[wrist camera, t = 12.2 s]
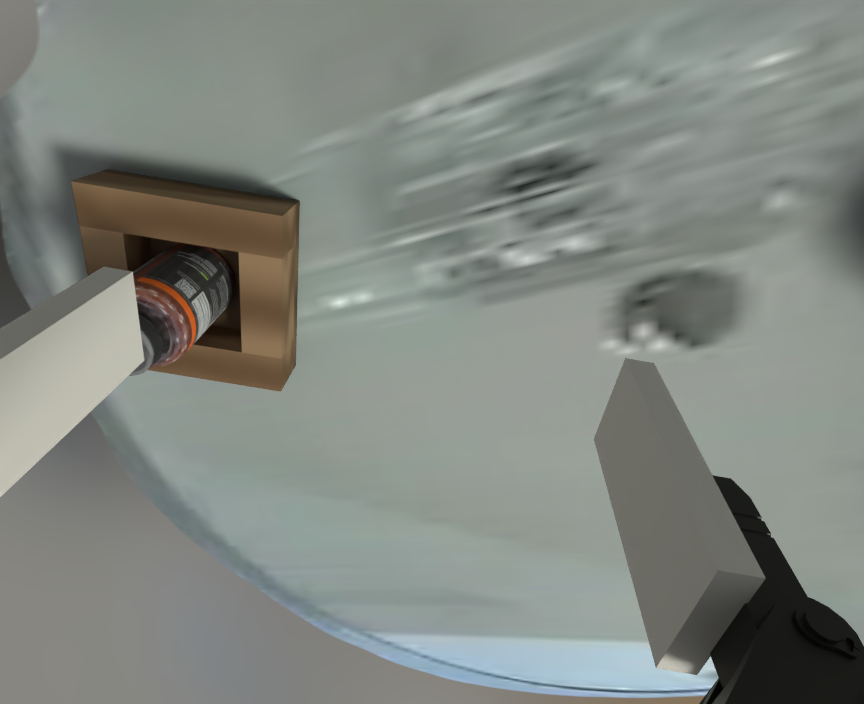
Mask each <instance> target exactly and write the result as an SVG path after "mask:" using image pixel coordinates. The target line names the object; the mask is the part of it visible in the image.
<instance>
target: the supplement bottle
mask: <svg viewBox="0 0 864 704" xmlns="http://www.w3.org/2000/svg"><path fill="white" fill-rule="evenodd" d="M133 278H134V286H135V293H136V301H137V308H138V316H139V323H140V331H141V338H142V346H143V353H144V361H143V362H142V363H141V364H140V365H139V366H138V367H137V368H136V369H135V370H134V371H133V372H132V373H131V374H130V375H128V376H132V375H139V374H141V373H143V372H145V371H147V370H148V369H149V368H150V367H159V366H164V365H167V364H170V363H173V362H175V361H176V360H178V359H179V358H180V357H181V356H183V355H184V354H185V353H186V352H187V351H188V349H189V348H190V347H191V346H192V345H193V344H194V343H195V342H196V341H197V340H198V339H199V337H200V336H201V335H202V334H203V333H204V332H205V331H206V330H207V329H208V327H209V326H210V325H211V324H212V323H213V322H214V321H215V320H216V318H217V317H218V316H219V315H220V314H221V313H222V312H223V311H224V310H225V308H226V307H227V306H228V305H229V303H230V302H231V300H232V299H233V296H234V293H235V277H234V274H233V272H232V269H231V267H230V266H229V264H228V263H227V261H226V260H225V259H224V258H223V257H222V256H221V255H220V254H219V253H218V252H216V251H215V250H213V249H212V248H210V247H205V246H199V245H193V244H187V243H177V244H174V245H172V246H171V247H169V248H167V249H165V250H164V251H162V252H161V253H160V254H158V255H157V256H155V257H154V258H152V259H151V260H150V261H148V262H147V263H145V264H144V265H142V266H141V267H139V268H138V269H137V270H135V271H134V272H133Z"/></svg>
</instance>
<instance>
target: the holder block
mask: <svg viewBox="0 0 864 704" xmlns="http://www.w3.org/2000/svg"><path fill="white" fill-rule="evenodd" d="M71 184H72V189H73V195H74V200H75V206H76V211H77V217H78V223H79V228H80V234H81V239H82V245H83V251H84V256H85V262H86V267H87V273H88V276H89V275H91V274H92V273H94V272H96V271H97V270H99V269H101V268H102V267H109V268H115V269H121V270H126V271H132V272H134V271H135V270H137V269H138V268H139V267H141V266H142V265H144V264H145V263H147V262H148V261H150V260H151V259H152V258H154V257H155V256H157V255H158V254H160V253H161V252H162V251H164V250H165V249H167V248H169V247H171V246H172V245H174V244H177V243H187V244H193V245H199V246H205V247H210V248H212V249H213V250H215V251H216V252H218V253H219V254H220V255H221V256H222V257H223V258H224V259H225V260H226V261H227V263H228V264H229V266H230V267H231V269H232V272H233V274H234V277H235V293H234V296H233V299H232V300H231V302H230V303H229V305H228V306H227V307H226V308H225V310H224V311H223V312H222V313H221V314H220V315H219V316H218V317H217V318H216V320H215V321H214V322H213V323H212V324H211V325H210V326H209V327H208V329H207V330H206V331H205V332H204V333H203V334H202V335H201V336H200V337H199V339H198V340H197V341H196V342H195V343H194V344H193V345H192V346H191V347H190V348H189V349H188V351H187V352H186V353H185V354H184V355H183V356H181V357H180V358H179V359H178V360H176V361H175V362H173V363H170V364H167V365H164V366H159V367H150V368H149V369H148V370H152V371H158V372H164V373H170V374H176V375H182V376H189V377H195V378H201V379H207V380H213V381H220V382H226V383H232V384H238V385H244V386H250V387H257V388H263V389H269V390H275V391H281V390H282V388H283V387H284V385H285V383H286V381H287V380H288V378H289V376H290V374H291V373H292V371H293V369H294V367H295V366H296V330H297V289H298V247H299V206H300V201H296V200H290V199H284V198H278V197H272V196H266V195H260V194H254V193H248V192H242V191H236V190H230V189H223V188H217V187H211V186H205V185H199V184H193V183H187V182H181V181H175V180H169V179H163V178H157V177H150V176H144V175H138V174H132V173H126V172H120V171H114V170H108V169H107V170H104V171H101V172H98V173H95V174H92V175H89V176H86V177H83V178H80V179H77V180H74V181H71Z"/></svg>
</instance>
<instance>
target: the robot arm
mask: <svg viewBox="0 0 864 704" xmlns="http://www.w3.org/2000/svg"><path fill="white" fill-rule="evenodd" d="M143 361H144V353H143V346H142V338H141V331H140V323H139V316H138V308H137V301H136V293H135V286H134V278H133V272H132V271H126V270H121V269H115V268H109V267H102V268H101V269H99V270H97V271H96V272H94V273H92V274H91V275H89V276H87V277H86V278H84V279H82V280H81V281H79V282H77V283H76V284H74V285H72V286H71V287H69V288H67V289H66V290H64V291H62V292H61V293H59V294H57V295H56V296H54V297H52V298H51V299H49V300H47V301H46V302H44V303H42V304H41V305H39V306H37V307H36V308H34V309H32V310H31V311H29V312H27V313H26V314H24V315H22V316H21V317H19V318H17V319H16V320H14V321H12V322H11V323H9V324H7V325H6V326H4V327H2V328H1V329H0V497H1V496H2V495H3V494H4V493H5V492H6V491H7V490H8V489H9V488H10V487H11V486H13V484H15V483H16V482H17V481H18V480H19V479H20V478H21V477H22V476H23V475H24V474H25V473H26V472H27V471H28V470H29V469H30V468H31V467H33V466H34V464H36V463H37V462H38V461H39V460H40V459H41V458H42V457H43V456H44V455H45V454H46V453H47V452H48V451H49V450H50V449H52V448H53V447H54V446H55V445H56V444H57V443H58V442H59V441H60V440H61V439H62V438H63V437H64V436H65V435H66V434H67V433H68V432H69V431H70V430H71V429H73V427H75V426H76V425H77V424H78V423H79V422H80V421H81V420H82V419H83V418H84V417H85V416H86V415H87V414H88V413H89V412H91V411H92V410H93V409H94V408H95V407H96V406H97V405H98V404H99V403H100V402H101V401H102V400H103V399H104V398H105V397H106V396H107V395H108V394H110V393H111V392H112V391H113V390H114V389H115V388H116V387H117V386H118V385H119V384H120V383H121V382H122V381H123V380H124V379H125V378H126V377H127V376H128V375H130V374H131V373H132V372H133V371H134V370H135V369H136V368H137V367H138V366H139V365H140V364H141V363H142V362H143ZM594 441H595V445H596V449H597V452H598V456H599V460H600V463H601V467H602V471H603V474H604V478H605V482H606V485H607V489H608V493H609V496H610V500H611V504H612V507H613V511H614V515H615V519H616V522H617V526H618V530H619V533H620V537H621V541H622V544H623V548H624V552H625V555H626V559H627V563H628V566H629V570H630V574H631V577H632V581H633V585H634V588H635V592H636V596H637V599H638V603H639V607H640V610H641V614H642V618H643V621H644V625H645V629H646V633H647V636H648V640H649V644H650V647H651V651H652V655H653V658H654V662H655V666H656V668H660V669H666V670H671V671H677V672H683V673H689V674H694V675H697V674H698V673H699V672H700V670H701V669H702V667H703V666H704V665H705V663H706V662H707V660H708V659H709V657H710V656H711V658H712V660H713V663H714V666H715V669H716V671H717V674H718V677H719V678H718V680H717V681H716V682H715V684H714V685H713V686H712V688H711V689H710V690H709V692H708V693H707V694H706V696H705V697H704V699H703V700H702V701H701V703H700V704H864V646H863V644H862V642H861V640H860V639H859V637H858V635H857V633H856V632H855V631H854V630H853V629H852V628H851V627H850V625H849V624H848V623H847V622H846V621H845V620H844V619H843V618H842V617H840V616H839V615H838V614H837V613H835V612H834V611H833V610H831V609H830V608H829V607H827V606H825V605H823V604H821V603H820V602H818V601H816V600H814V599H812V598H809V597H807V595H806V593H805V592H804V590H803V588H802V587H801V585H800V583H799V581H798V580H797V578H796V576H795V574H794V573H793V571H792V569H791V567H790V566H789V564H788V562H787V561H786V559H785V557H784V555H783V554H782V552H781V550H780V548H779V547H778V545H777V543H776V541H775V540H774V538H771V533H770V531H769V529H768V528H767V526H766V524H765V522H764V521H761V518H762V517H761V515H760V514H759V512H758V510H757V509H756V507H755V505H754V503H753V502H752V500H751V498H750V497H749V496H748V495H747V494H746V493H745V492H744V491H743V490H742V489H741V488H740V487H739V486H738V485H737V484H736V483H735V482H734V481H733V480H732V479H730V478H724V477H718V476H713V475H712V474H711V472H710V470H709V468H708V466H707V464H706V462H705V460H704V459H703V457H702V455H701V453H700V451H699V449H698V447H697V445H696V443H695V441H694V439H693V437H692V435H691V434H690V432H689V430H688V428H687V426H686V424H685V422H684V420H683V418H682V416H681V414H680V412H679V410H678V409H677V407H676V405H675V403H674V401H673V399H672V397H671V395H670V393H669V391H668V389H667V387H666V385H665V384H664V382H663V380H662V378H661V376H660V374H659V372H658V370H657V368H656V366H655V364H654V363H650V362H644V361H638V360H632V359H627V358H625V360H624V363H623V366H622V368H621V371H620V373H619V376H618V378H617V381H616V384H615V386H614V389H613V391H612V394H611V396H610V399H609V402H608V404H607V407H606V409H605V412H604V414H603V417H602V420H601V422H600V425H599V427H598V430H597V432H596V435H595V438H594Z"/></svg>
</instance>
